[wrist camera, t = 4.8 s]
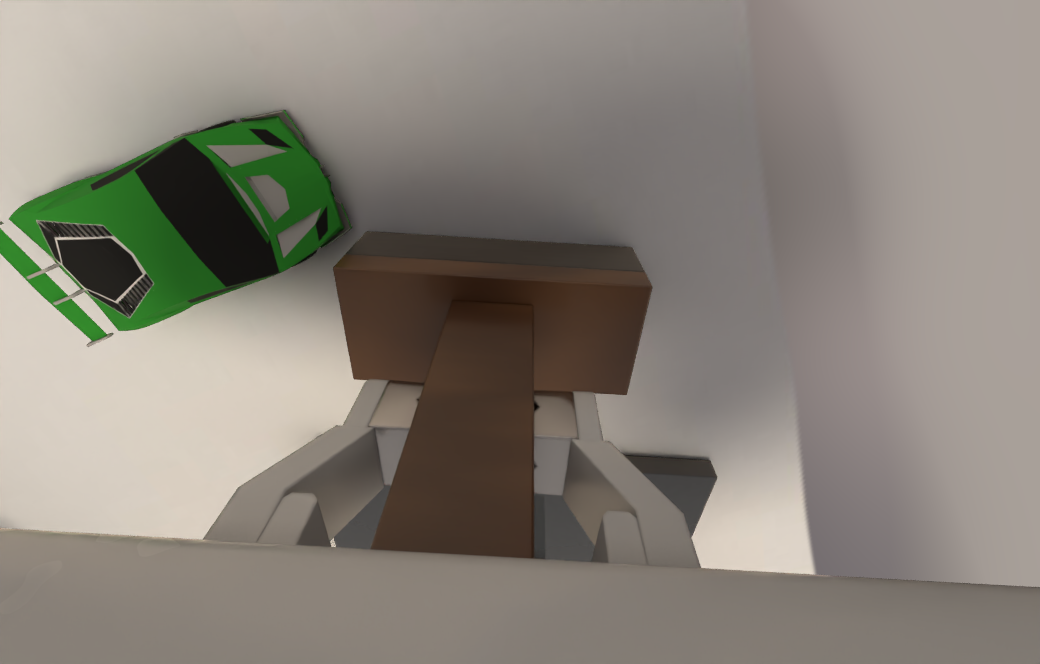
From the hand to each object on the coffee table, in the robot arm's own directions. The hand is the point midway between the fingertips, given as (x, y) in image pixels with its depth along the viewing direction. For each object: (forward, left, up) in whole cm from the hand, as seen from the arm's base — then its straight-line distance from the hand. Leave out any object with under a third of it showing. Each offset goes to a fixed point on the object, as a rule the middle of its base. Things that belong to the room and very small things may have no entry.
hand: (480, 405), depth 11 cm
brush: (0, 0, -6) cm, 6 cm away
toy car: (+10, -2, -6) cm, 12 cm away
